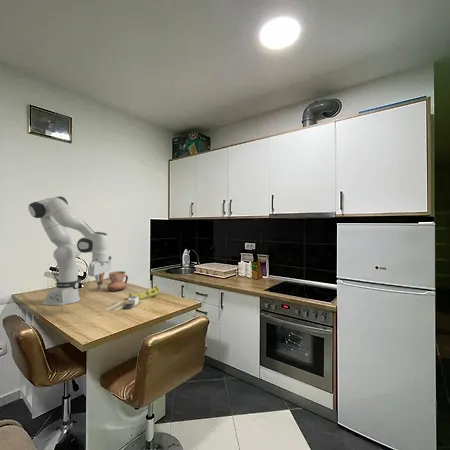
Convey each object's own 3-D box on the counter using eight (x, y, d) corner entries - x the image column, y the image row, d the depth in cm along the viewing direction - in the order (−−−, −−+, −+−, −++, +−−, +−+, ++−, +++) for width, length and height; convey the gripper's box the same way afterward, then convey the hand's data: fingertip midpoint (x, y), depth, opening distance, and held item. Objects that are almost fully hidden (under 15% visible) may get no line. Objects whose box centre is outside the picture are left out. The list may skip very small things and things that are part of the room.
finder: (135, 304, 158) (135, 298, 158) (127, 304, 158) (127, 298, 158) (138, 302, 164) (138, 296, 164) (131, 302, 164) (131, 296, 164)
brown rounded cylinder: (96, 289, 150) (96, 272, 150) (97, 287, 153) (97, 271, 153) (102, 288, 151) (102, 272, 151) (103, 287, 154) (103, 271, 154)
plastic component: (134, 299, 165) (129, 290, 172) (133, 308, 168) (128, 299, 174) (161, 292, 178) (155, 284, 184) (160, 300, 181) (154, 291, 187)
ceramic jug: (110, 293, 189) (111, 275, 189) (102, 290, 198) (102, 272, 198) (132, 289, 202) (132, 272, 203) (123, 286, 212) (123, 269, 212)
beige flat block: (104, 311, 149) (103, 307, 149) (116, 303, 165) (116, 299, 165) (133, 311, 149) (133, 307, 149) (142, 303, 165) (142, 299, 165)
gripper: (96, 260, 142) (95, 284, 142) (112, 256, 162) (112, 277, 162) (85, 260, 142) (84, 284, 142) (103, 256, 162) (102, 277, 162)
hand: (99, 280), depth 152 cm, fingers closed on brown rounded cylinder, 3 cm apart
